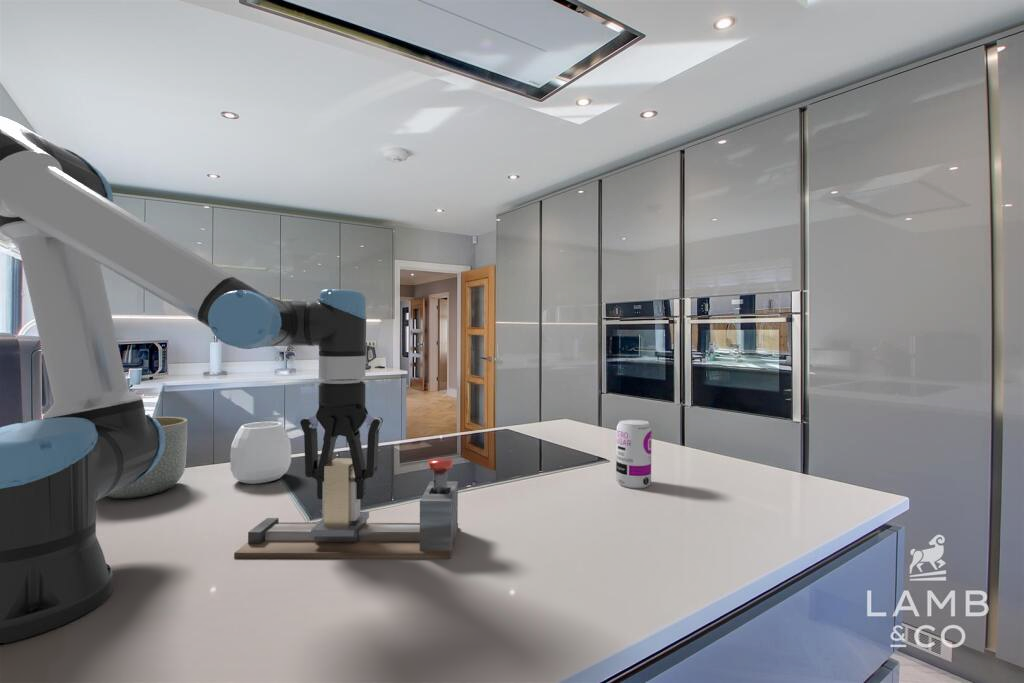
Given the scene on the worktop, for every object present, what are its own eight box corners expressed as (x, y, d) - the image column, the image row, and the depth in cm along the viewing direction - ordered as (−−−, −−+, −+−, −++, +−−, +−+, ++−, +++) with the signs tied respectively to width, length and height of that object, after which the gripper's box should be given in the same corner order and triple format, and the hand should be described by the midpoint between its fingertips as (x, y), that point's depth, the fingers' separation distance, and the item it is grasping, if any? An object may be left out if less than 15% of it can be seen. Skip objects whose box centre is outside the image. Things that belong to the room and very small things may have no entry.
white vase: (282, 468, 122) (282, 417, 122) (298, 480, 112) (298, 425, 112) (224, 478, 113) (224, 423, 113) (236, 492, 103) (237, 432, 103)
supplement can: (654, 482, 113) (655, 421, 113) (645, 491, 106) (645, 426, 106) (622, 476, 117) (623, 417, 117) (611, 485, 110) (611, 422, 110)
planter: (158, 476, 114) (158, 414, 114) (204, 485, 108) (204, 419, 108) (72, 498, 99) (72, 426, 99) (119, 509, 92) (119, 433, 92)
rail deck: (449, 558, 73) (450, 503, 73) (234, 557, 73) (234, 502, 73) (458, 527, 85) (458, 479, 85) (272, 526, 85) (273, 478, 85)
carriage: (354, 545, 75) (354, 468, 75) (310, 545, 75) (311, 468, 75) (369, 525, 83) (369, 456, 83) (329, 525, 83) (330, 455, 83)
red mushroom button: (450, 506, 77) (450, 463, 77) (426, 506, 77) (426, 463, 77) (453, 498, 81) (453, 457, 81) (430, 498, 81) (430, 457, 81)
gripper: (397, 379, 83) (396, 509, 83) (301, 378, 82) (301, 509, 83) (387, 383, 75) (386, 526, 75) (281, 382, 75) (280, 526, 75)
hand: (341, 517), depth 79 cm, fingers closed on carriage, 4 cm apart
